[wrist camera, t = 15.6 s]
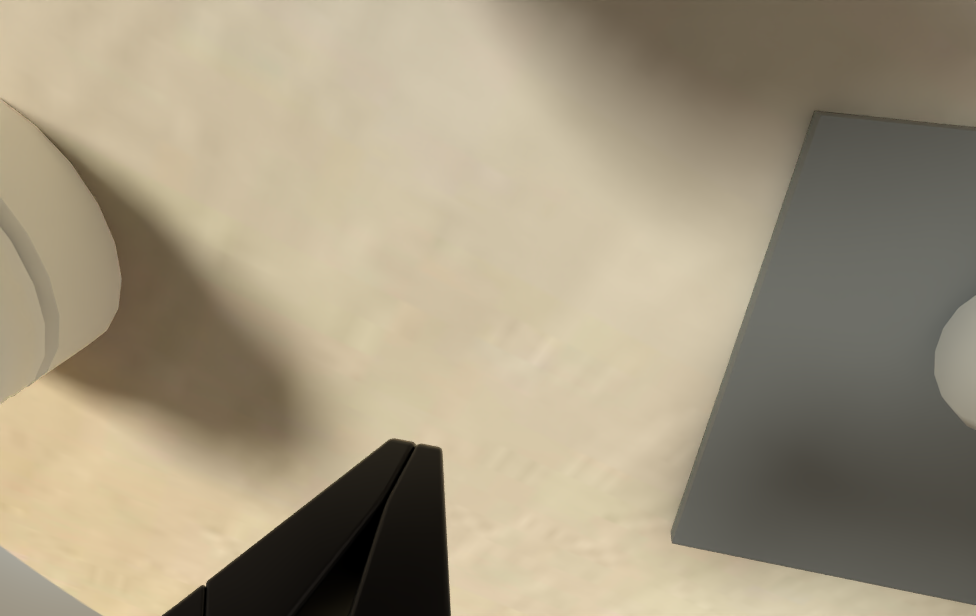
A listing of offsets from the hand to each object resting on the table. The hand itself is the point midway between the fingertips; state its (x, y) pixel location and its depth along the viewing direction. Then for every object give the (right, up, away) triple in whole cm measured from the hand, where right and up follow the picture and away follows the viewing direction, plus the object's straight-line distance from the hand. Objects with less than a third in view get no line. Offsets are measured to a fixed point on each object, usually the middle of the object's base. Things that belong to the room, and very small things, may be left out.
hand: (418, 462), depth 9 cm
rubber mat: (+17, -1, +11) cm, 20 cm away
